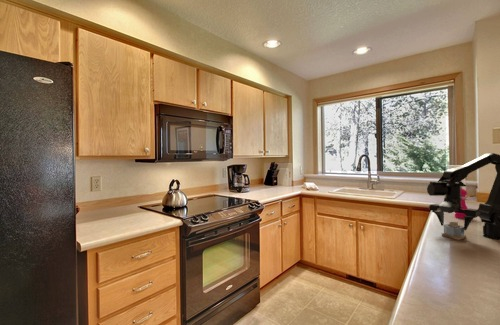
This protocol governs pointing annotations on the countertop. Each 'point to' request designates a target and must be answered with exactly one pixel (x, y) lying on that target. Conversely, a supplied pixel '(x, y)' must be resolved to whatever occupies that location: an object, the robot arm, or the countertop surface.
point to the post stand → (453, 224)
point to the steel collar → (454, 230)
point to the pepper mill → (462, 204)
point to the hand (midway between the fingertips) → (453, 227)
